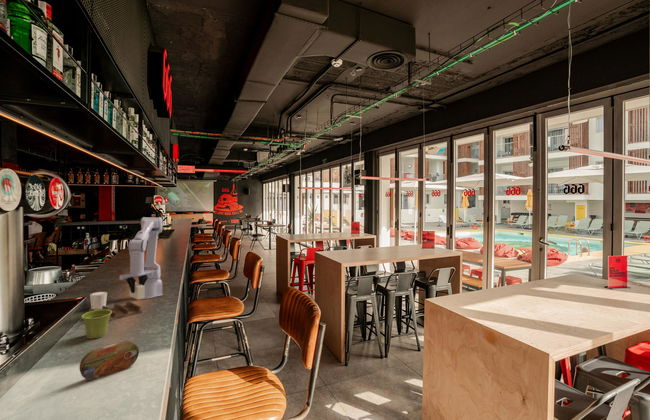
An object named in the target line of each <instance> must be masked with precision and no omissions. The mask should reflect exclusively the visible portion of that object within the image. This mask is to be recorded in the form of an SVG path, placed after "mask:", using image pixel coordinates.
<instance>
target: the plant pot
mask: <svg viewBox="0 0 650 420" xmlns="http://www.w3.org/2000/svg"><path fill="white" fill-rule="evenodd" d="M111 313H112V311H111V310H102V309H96V310H95V311H91V312H89V311H88V312H86V313H83V314H82V315H81V318H82V321H83V322H84V326H85V328H84V329H85V334H86V338H87V339H90V340H93V339H99V338H102V337H104V336H106V334H107V331H108V327H109V326H108V325H109V322H110V321H109V317H110V314H111Z"/></svg>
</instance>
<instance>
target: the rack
mask: <svg viewBox="0 0 650 420" xmlns="http://www.w3.org/2000/svg"><path fill="white" fill-rule="evenodd" d="M101 310H111V311H112V313H111V314H110V317H109V321H108V322H110V321H114V320H119V319H122V317H123V318H126V317H129V316H133V315H138V314H141V313H142V311H143V310H141V306H140V305H138V304H136V303H134V302H131V301H130V300H126V301H125V305H120V304H118V303H117V302H114V304H113V307H111V308H109V307H108V306H107V305H106V306H102V309H101ZM91 311H95V310H94V309H91V308H89V309H88V312H91Z"/></svg>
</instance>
